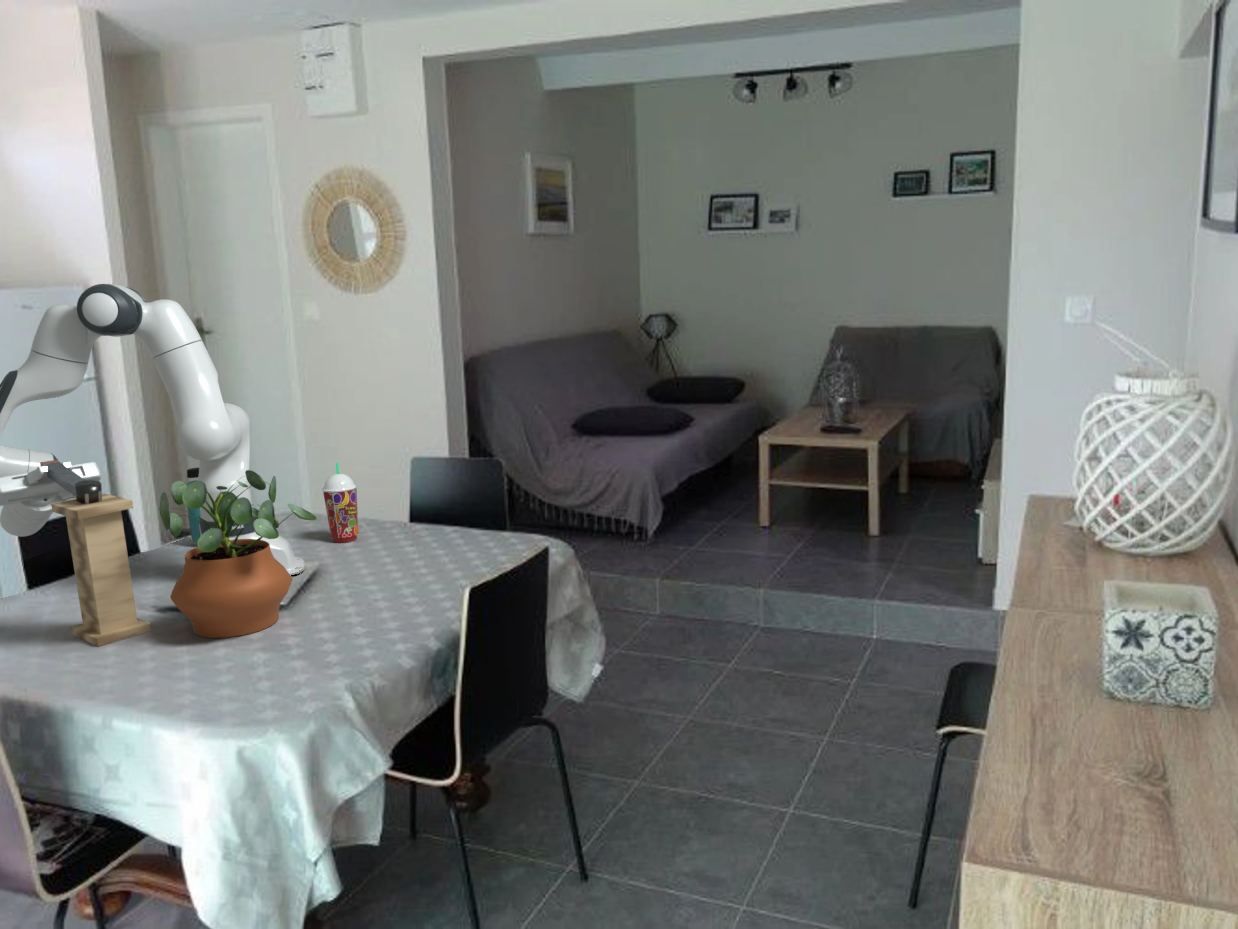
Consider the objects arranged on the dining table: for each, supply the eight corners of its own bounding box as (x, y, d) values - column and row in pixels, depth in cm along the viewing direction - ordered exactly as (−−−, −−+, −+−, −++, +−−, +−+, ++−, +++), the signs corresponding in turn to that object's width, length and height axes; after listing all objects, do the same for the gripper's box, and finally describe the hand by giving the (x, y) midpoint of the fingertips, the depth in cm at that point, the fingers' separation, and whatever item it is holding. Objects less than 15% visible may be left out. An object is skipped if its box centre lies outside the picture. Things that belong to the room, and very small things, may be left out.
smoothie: (357, 543, 258) (349, 465, 254) (324, 545, 258) (315, 466, 254) (365, 535, 266) (357, 459, 262) (333, 536, 266) (325, 460, 262)
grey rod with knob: (37, 472, 205) (36, 458, 204) (60, 468, 208) (59, 454, 207) (82, 505, 193) (81, 490, 192) (106, 500, 196) (105, 485, 195)
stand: (72, 634, 200) (51, 504, 195) (124, 619, 208) (105, 493, 203) (98, 646, 192) (77, 511, 187) (151, 630, 200) (132, 500, 195)
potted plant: (186, 612, 210) (166, 468, 204) (328, 595, 216) (313, 455, 210) (165, 651, 188) (142, 491, 182) (324, 631, 194) (306, 475, 188)
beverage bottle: (209, 547, 261) (199, 470, 258) (186, 547, 263) (175, 471, 259) (224, 540, 268) (214, 465, 264) (201, 540, 269) (191, 465, 265)
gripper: (-24, 490, 206) (-7, 461, 196) (82, 472, 221) (102, 444, 212) (-14, 519, 204) (3, 491, 195) (92, 498, 220) (113, 472, 211)
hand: (56, 467), depth 204 cm, fingers closed on grey rod with knob, 3 cm apart
